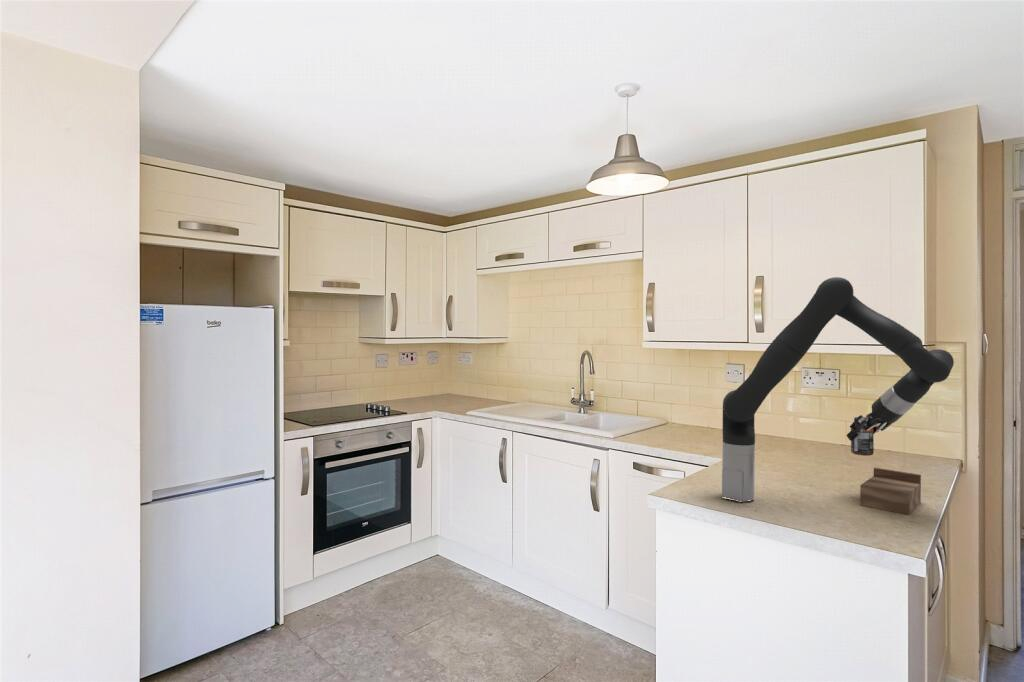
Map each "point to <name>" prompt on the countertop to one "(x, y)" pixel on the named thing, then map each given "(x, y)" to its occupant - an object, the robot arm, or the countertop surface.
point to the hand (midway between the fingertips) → (856, 437)
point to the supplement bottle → (863, 443)
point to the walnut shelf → (891, 491)
